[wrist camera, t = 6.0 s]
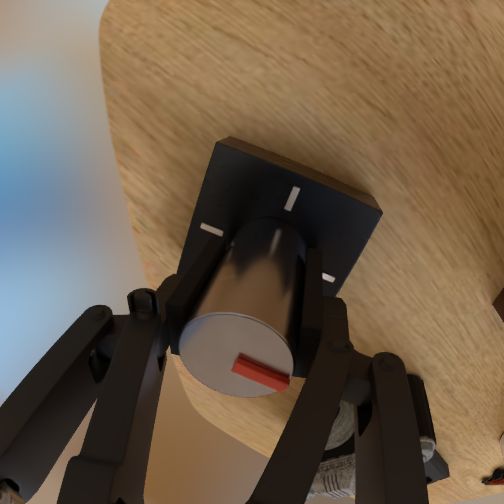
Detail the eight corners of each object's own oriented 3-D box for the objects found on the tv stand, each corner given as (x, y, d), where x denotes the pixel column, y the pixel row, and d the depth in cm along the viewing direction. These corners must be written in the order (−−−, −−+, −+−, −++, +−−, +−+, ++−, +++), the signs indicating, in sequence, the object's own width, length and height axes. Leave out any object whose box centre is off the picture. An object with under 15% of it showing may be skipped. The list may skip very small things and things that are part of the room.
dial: (221, 264, 20) (163, 373, 12) (250, 203, 18) (194, 296, 10) (284, 295, 20) (261, 416, 12) (319, 238, 18) (318, 353, 10)
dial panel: (229, 135, 20) (215, 141, 17) (374, 197, 20) (384, 213, 17) (188, 263, 24) (172, 285, 22) (310, 313, 24) (309, 340, 22)
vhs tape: (362, 453, 32) (362, 466, 31) (421, 431, 29) (423, 444, 27) (400, 483, 36) (400, 493, 34) (448, 465, 32) (449, 476, 31)
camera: (404, 347, 24) (424, 447, 16) (427, 387, 26) (445, 475, 17) (266, 405, 30) (247, 491, 21) (302, 435, 32) (291, 513, 23)
